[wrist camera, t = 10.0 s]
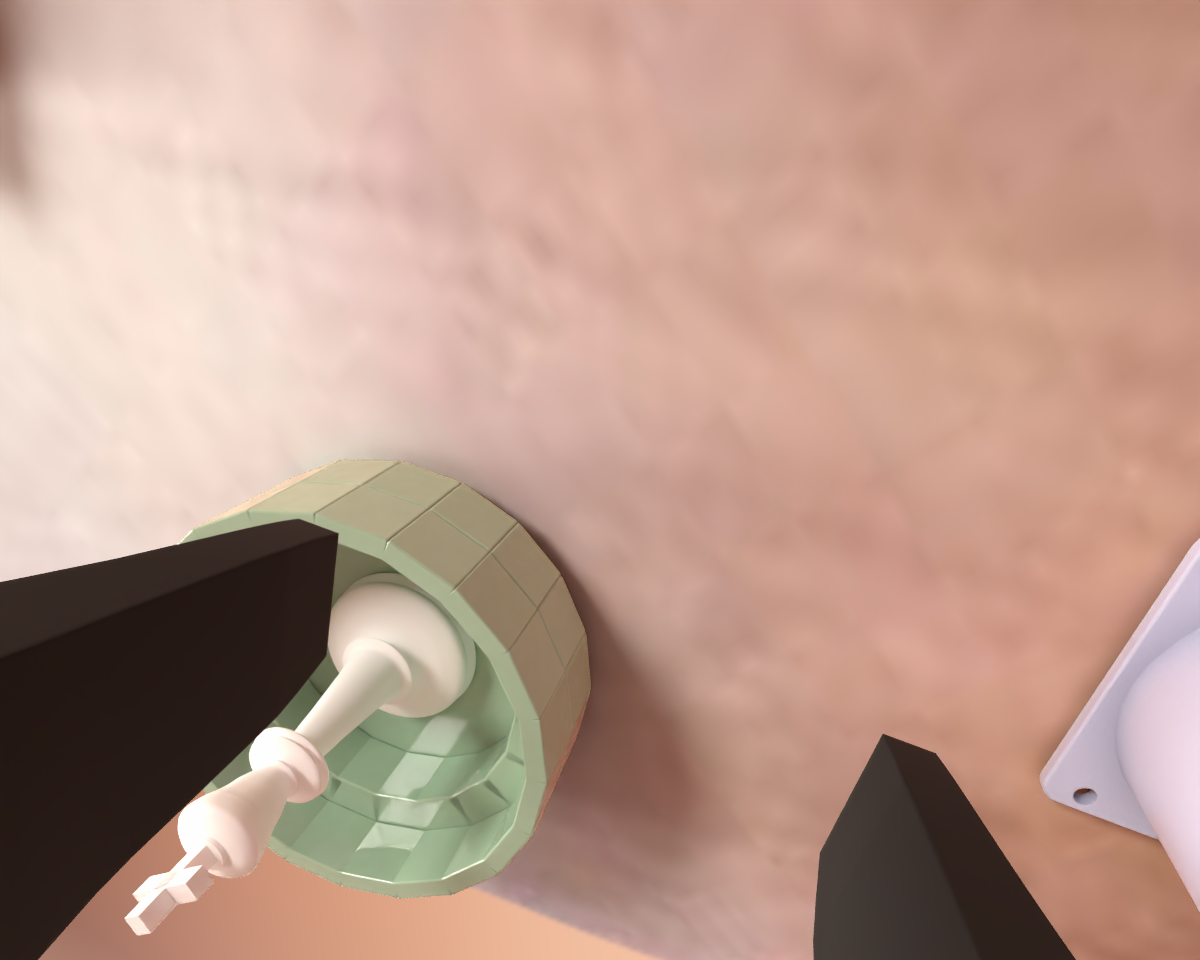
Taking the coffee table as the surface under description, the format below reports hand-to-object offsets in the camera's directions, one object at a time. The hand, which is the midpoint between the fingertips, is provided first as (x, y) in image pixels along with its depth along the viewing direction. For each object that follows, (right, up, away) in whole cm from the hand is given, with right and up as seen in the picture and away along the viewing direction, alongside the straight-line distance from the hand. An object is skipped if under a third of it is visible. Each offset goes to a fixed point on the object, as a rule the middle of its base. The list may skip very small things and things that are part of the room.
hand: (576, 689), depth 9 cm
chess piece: (-6, -2, +14) cm, 15 cm away
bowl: (-6, -2, +14) cm, 15 cm away
